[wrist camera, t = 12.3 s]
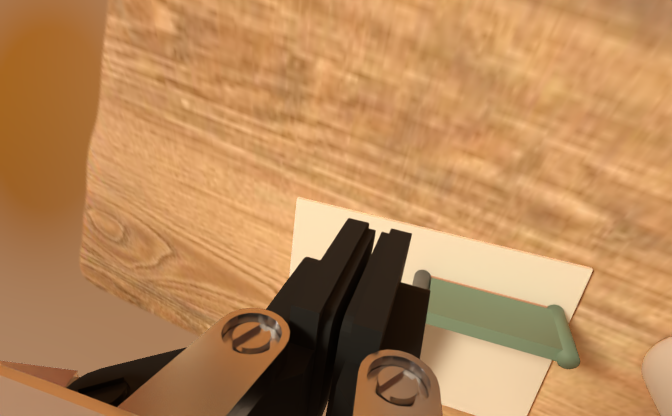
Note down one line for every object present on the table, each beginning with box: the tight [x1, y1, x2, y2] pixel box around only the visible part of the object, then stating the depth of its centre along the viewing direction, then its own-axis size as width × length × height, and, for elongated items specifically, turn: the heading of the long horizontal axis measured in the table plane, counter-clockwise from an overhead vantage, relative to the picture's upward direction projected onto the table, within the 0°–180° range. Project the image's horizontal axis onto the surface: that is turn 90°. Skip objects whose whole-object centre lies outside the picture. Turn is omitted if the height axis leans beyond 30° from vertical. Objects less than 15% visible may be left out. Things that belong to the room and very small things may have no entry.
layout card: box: [289, 197, 593, 416], centre depth 43 cm, size 27×20×1 cm
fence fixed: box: [412, 270, 580, 369], centre depth 37 cm, size 14×2×7 cm, turn 82°
